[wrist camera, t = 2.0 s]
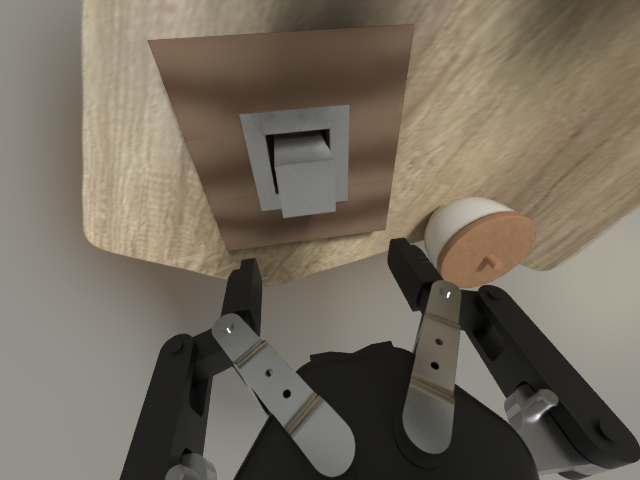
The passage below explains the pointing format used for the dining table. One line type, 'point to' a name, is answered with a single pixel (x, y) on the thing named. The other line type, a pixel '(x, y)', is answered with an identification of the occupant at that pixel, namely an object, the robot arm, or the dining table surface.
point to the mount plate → (289, 122)
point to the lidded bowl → (477, 240)
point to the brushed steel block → (304, 173)
